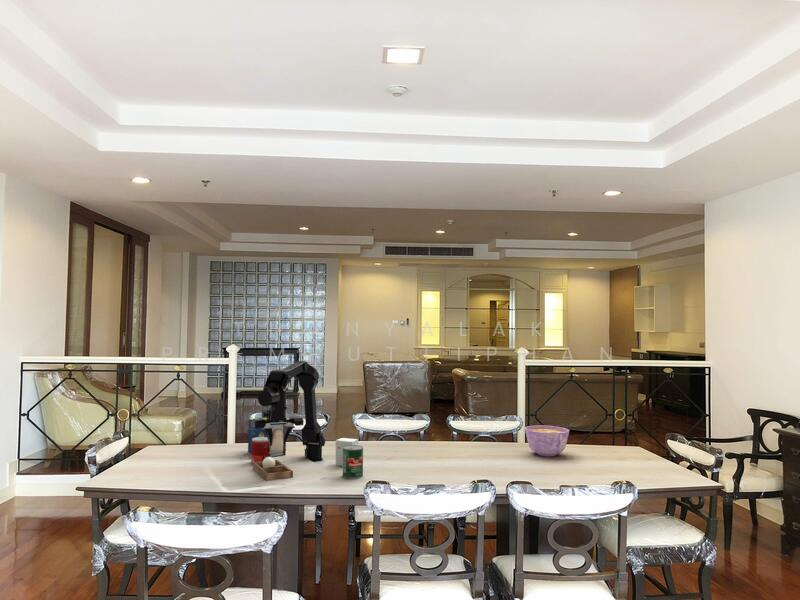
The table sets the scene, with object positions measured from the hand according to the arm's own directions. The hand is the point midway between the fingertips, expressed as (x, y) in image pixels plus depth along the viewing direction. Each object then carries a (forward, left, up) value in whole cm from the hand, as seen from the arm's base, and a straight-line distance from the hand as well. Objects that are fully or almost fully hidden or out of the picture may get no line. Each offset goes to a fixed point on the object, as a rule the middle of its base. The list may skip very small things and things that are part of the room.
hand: (277, 445), depth 210 cm
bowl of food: (-122, +15, -13) cm, 124 cm away
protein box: (-8, -43, -13) cm, 45 cm away
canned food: (0, -23, -13) cm, 26 cm away
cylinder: (0, 0, -2) cm, 2 cm away
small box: (-32, -8, -13) cm, 36 cm away
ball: (0, -10, -11) cm, 15 cm away
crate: (0, -5, -13) cm, 13 cm away
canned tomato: (-27, +9, -13) cm, 31 cm away
